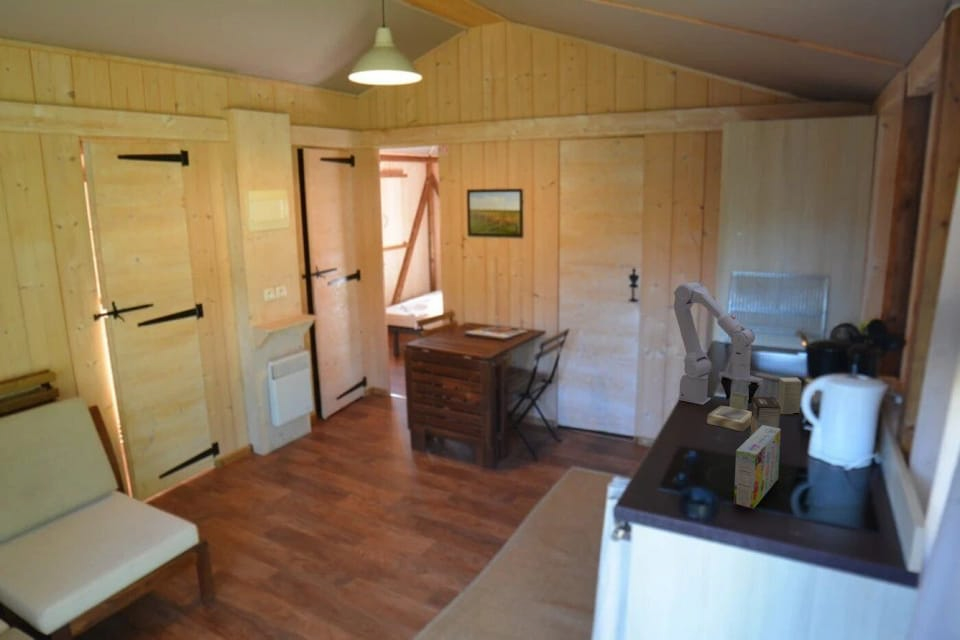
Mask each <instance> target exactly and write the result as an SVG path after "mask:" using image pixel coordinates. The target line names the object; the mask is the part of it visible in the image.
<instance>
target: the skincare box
mask: <svg viewBox="0 0 960 640" xmlns="http://www.w3.org/2000/svg"><path fill="white" fill-rule="evenodd" d="M778 379H779V380H778V390H777V391H778V392H777V393H778V394H777V395H778V396H777V402H778V404H779V406H780V407H781V409H780V415H794V414H793V413H799V414H800V409H801V408H800V404H801V393H802V392H801V391H802V380H800V379H799V378H798V377H793V376H791V377H779V378H778Z"/></svg>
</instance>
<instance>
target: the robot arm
mask: <svg viewBox="0 0 960 640" xmlns="http://www.w3.org/2000/svg"><path fill="white" fill-rule="evenodd" d="M673 295H674V302H673V310H674V314H675V317H676V320H677V323H678V327H679V332H680V335H681V338H682V342H683V345H684V348H685V349H684V350H685V353H686V355H685V356H684V359H683V363H684V367H683V369H684V370H683V371H684V374H683V375H682V376H681V378H680V381H679V394H678V396H679V397H678V401H684V402H688V403H693V404H696V405H697V404H698V405H701V406H702V405H705V404H706V403H708V402H709V401H711V399H712V398H711V397H708V388H709V387H708V386H709V385H708V384H709V373H711V372H712V370H713V363H712V362H711V360H710V358H709V357H708V354H707V353H706V352H705V351H704V350H703V349H702V347H701V343H700V340H699V339H700V338H699V336H698V332H697V330H696V329H697V328H696V324H695V321H694V319H693V315H692V314H693V313H692V312H691V311H692V310H691V308H692V307H693V306H694V304H700V305H702V306H703V307H704V308H705V309H706V310H707V311H708V312H710V314H711V315H713V317H715V319H717V325H718V326H719V327H720V328H721V330H723V332H724V333H726V335H727V336H728V337H730V343H731V345H732V347H733V348H732V349H733V350H732V363H731V364H732V365H731V366H732V367H731V372H727V371H720V372H718V378H719V379H721V380H720V384H721V385H722V389H723V390H724V394H725V399H726V400H730V395H732V392H731V391H732V390H731V389H732V383H733V381H737V382H738V381H739V382H744V383H750V384H748V385H747V386H748V404H752V402H753V397H755V395H756V392H757V390H758V388H759V387H760V386H762V385H763V382H764V378H762V377H761V378H760V377H757V376H753V375H751V374H750V369H751V360H752V359H751V355H752V344H753V343H754V341H755V339H756V337H755V333H754V332H753V330H752V329H750V328H748V327H747V328H746V326H745V325H744V324H741V322H739V320H738V319H737V318H736V317H737V316H736V315H735V314H733V313H731V312H726V311H725V310H724V309H723V308H722V307H721V306H720V305H719V303H718V302H717V301H716V300H715V298H713V296H712V295H711V294H710V292H709V291H708V289H707V287H706V286H704V285H703V283H702V282H701V281H697V280H695V281H691V282H688V283H682V284H679V285H678V286H676V288H675V290H674V291H673Z"/></svg>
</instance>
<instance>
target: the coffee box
mask: <svg viewBox="0 0 960 640" xmlns="http://www.w3.org/2000/svg"><path fill="white" fill-rule="evenodd" d="M751 404H752V405H751V412H752V416H751V425H750V430H749V431H750V432H749V434H750V435H749V438H750V437H751V436H752V435H753V434H754V433H755V432H756V431H757V430H758V429H759V428H760V427H761V426H762V425H765V426H770V427H775V428H780V417H781V413H780V409H781V407H780V406H779V404H778V400H777V399H776V398H775V397H774V396H754V397H753V401H752V403H751Z"/></svg>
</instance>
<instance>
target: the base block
mask: <svg viewBox="0 0 960 640" xmlns="http://www.w3.org/2000/svg"><path fill="white" fill-rule="evenodd" d="M706 415H707V416H706V417H707V418H706V424H707V425H712V426H717V427H721V428H726V429H731V430H733V431H738V432H744V431H746V430H747V429H748V428H749V427H751V416H752V410H747V411H746V410H742V409H737V408H732V407H730V406H727V405H721V404H720V405H719V406H718V407H716V408H715V409H714V410H712V411H711V412H709V413H708V414H706Z"/></svg>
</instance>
